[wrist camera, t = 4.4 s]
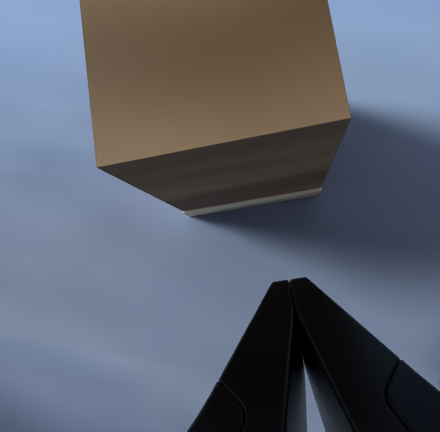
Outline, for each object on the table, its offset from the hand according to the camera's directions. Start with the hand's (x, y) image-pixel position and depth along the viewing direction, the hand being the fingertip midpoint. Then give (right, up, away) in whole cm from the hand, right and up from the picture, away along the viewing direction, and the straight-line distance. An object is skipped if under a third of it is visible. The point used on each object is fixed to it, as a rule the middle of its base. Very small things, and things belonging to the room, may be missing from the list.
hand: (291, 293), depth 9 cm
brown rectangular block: (-1, +4, +6) cm, 8 cm away
